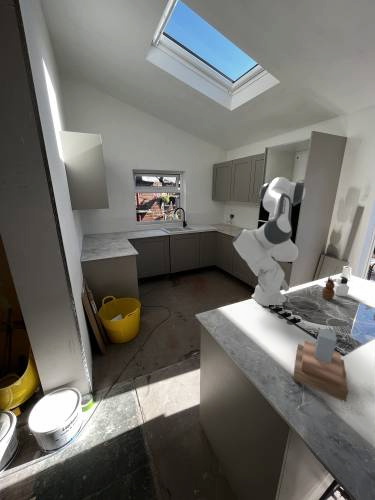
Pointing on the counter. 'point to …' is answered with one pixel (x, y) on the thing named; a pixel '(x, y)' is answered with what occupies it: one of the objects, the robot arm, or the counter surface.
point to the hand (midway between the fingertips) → (286, 295)
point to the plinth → (319, 380)
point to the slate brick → (325, 346)
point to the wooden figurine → (328, 290)
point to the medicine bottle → (341, 286)
